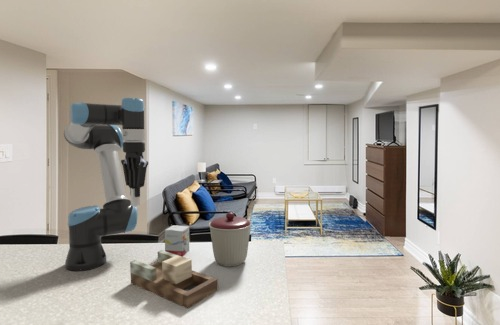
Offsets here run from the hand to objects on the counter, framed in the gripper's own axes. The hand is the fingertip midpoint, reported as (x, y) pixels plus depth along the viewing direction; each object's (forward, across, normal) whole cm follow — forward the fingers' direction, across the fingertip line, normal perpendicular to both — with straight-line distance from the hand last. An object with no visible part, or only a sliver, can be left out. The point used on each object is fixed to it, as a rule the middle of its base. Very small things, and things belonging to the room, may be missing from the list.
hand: (135, 205), depth 115 cm
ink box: (+28, -5, +25) cm, 38 cm away
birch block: (+23, +20, +2) cm, 30 cm away
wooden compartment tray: (+27, +18, +2) cm, 32 cm away
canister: (+27, +21, +31) cm, 46 cm away
